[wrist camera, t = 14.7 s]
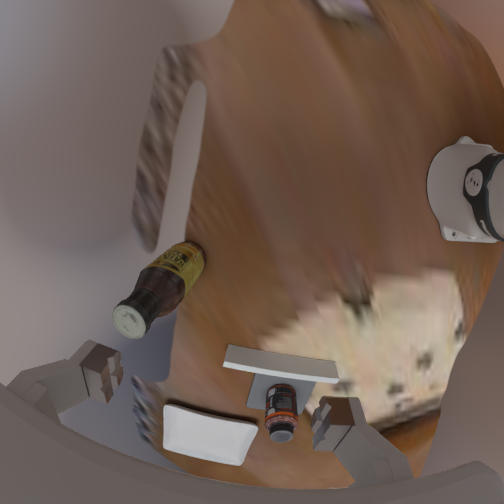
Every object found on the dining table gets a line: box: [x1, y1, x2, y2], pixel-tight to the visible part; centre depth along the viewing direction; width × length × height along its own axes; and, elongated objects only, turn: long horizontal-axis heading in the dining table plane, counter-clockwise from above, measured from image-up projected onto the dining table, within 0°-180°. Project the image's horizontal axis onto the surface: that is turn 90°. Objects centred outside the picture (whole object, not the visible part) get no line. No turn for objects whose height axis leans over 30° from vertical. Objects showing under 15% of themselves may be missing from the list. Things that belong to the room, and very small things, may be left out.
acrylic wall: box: [223, 344, 339, 384], centre depth 46 cm, size 20×1×5 cm, turn 79°
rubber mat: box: [246, 373, 316, 414], centre depth 50 cm, size 12×12×1 cm
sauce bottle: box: [112, 242, 205, 339], centre depth 34 cm, size 6×6×20 cm
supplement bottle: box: [265, 384, 298, 442], centre depth 45 cm, size 6×6×11 cm
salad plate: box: [163, 404, 258, 466], centre depth 56 cm, size 21×21×3 cm
